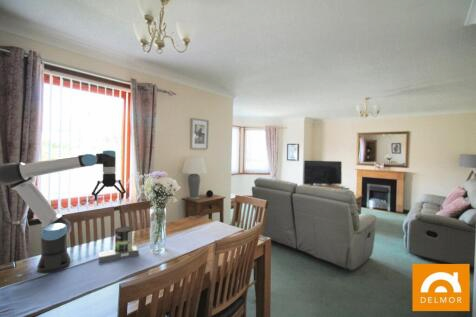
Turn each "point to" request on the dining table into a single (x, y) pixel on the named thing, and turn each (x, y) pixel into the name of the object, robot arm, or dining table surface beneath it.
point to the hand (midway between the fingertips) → (109, 204)
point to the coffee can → (123, 239)
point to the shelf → (117, 254)
